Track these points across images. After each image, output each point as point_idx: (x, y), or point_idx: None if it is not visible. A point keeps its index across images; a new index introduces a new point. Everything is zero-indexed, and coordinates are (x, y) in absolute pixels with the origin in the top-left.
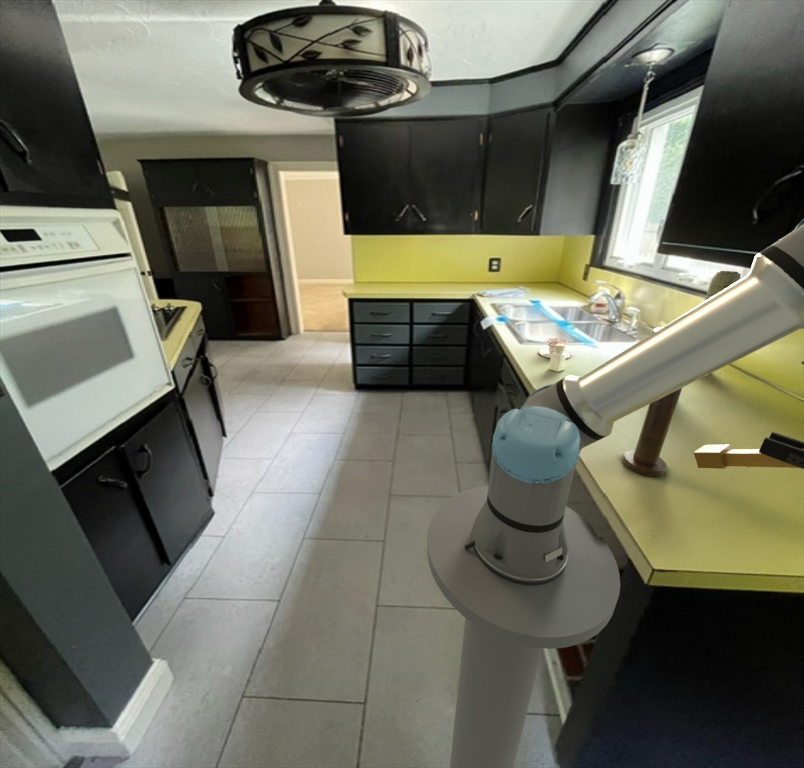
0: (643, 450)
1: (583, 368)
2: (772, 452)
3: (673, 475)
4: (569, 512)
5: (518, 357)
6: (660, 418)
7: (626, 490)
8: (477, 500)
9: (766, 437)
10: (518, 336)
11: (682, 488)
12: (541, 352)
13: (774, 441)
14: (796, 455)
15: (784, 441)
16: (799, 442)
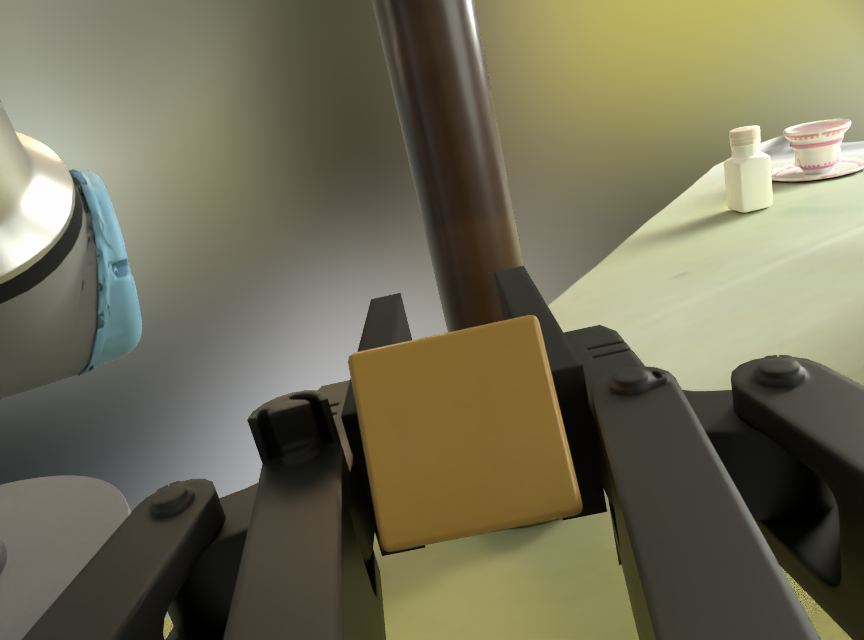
0: None
1: (856, 196)
2: None
3: (576, 535)
4: None
5: (689, 191)
6: (440, 275)
7: None
8: (7, 503)
9: (397, 294)
10: (783, 143)
11: (521, 590)
12: (779, 171)
13: (369, 312)
14: (328, 399)
15: None
16: (512, 315)
